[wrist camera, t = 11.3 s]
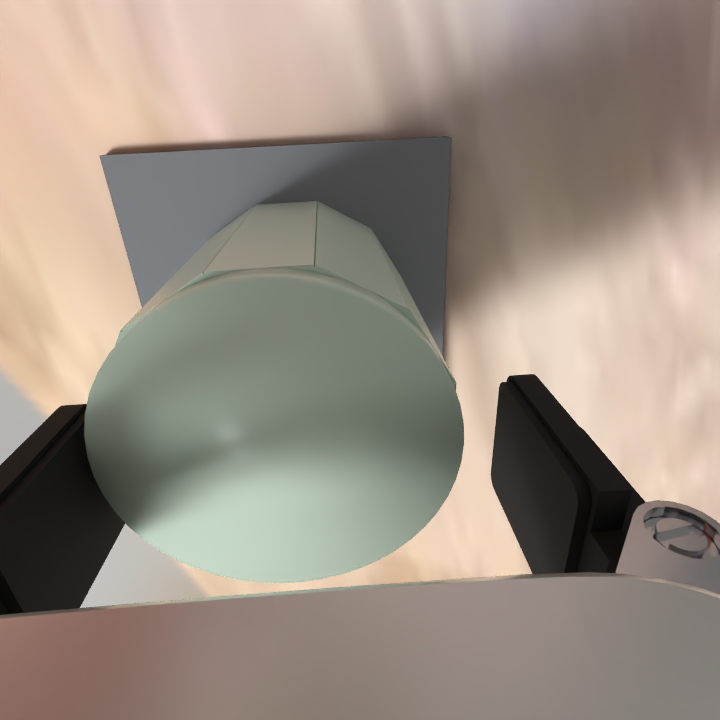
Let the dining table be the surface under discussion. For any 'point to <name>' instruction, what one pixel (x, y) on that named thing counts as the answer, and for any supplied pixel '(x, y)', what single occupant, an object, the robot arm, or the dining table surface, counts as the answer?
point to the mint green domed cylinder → (277, 404)
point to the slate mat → (284, 185)
